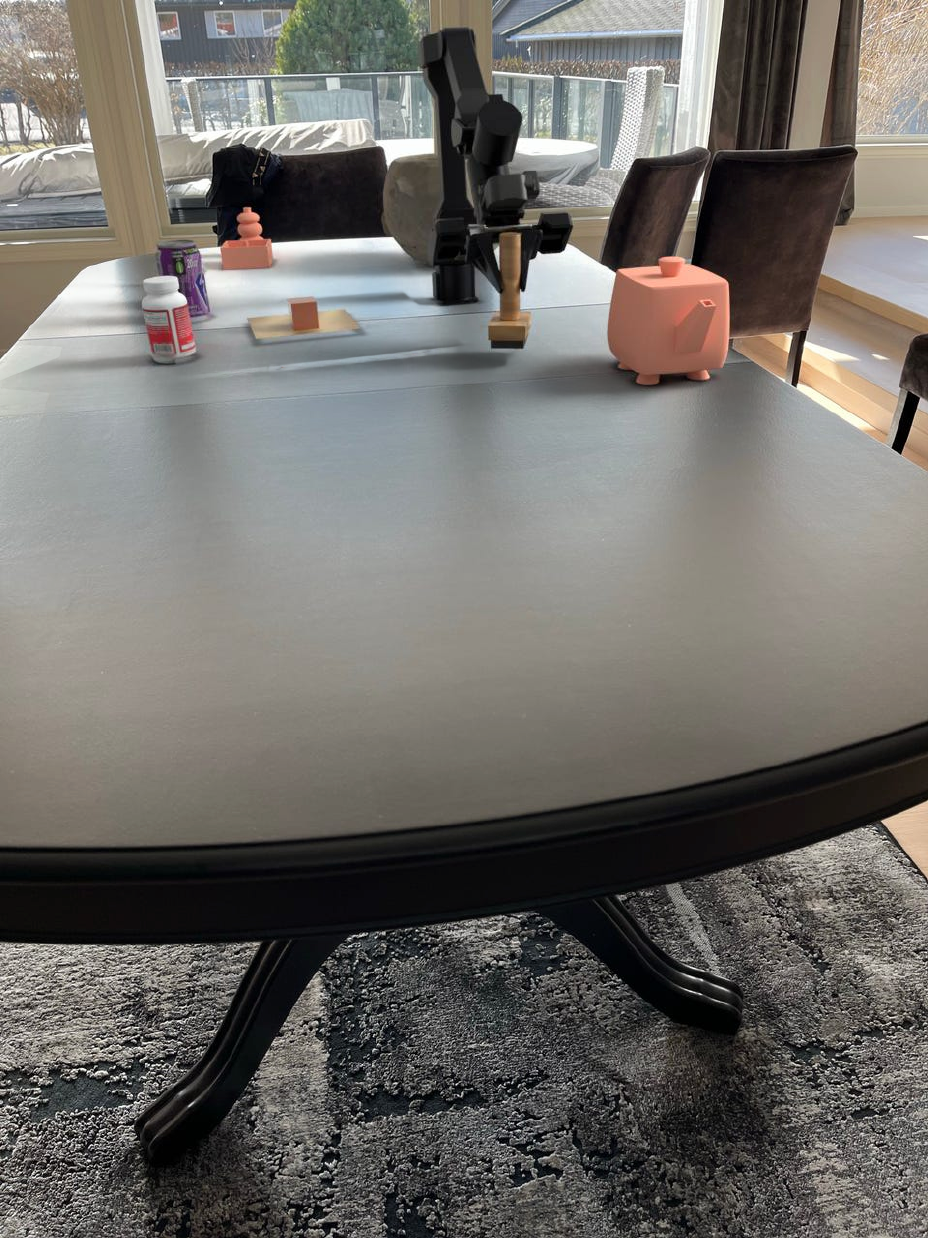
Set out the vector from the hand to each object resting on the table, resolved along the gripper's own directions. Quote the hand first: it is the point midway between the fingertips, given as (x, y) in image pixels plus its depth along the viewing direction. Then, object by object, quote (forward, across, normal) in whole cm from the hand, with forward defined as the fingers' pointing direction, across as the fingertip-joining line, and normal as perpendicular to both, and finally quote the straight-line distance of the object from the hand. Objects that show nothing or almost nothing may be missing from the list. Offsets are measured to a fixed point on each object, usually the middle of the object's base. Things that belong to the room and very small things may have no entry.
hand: (512, 290), depth 126 cm
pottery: (-58, -34, +72) cm, 99 cm away
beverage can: (-22, -45, +36) cm, 62 cm away
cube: (-12, -27, +24) cm, 38 cm away
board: (-13, -27, +26) cm, 40 cm away
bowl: (-45, +6, +59) cm, 74 cm away
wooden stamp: (+4, 0, +6) cm, 7 cm away
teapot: (+15, +18, -2) cm, 23 cm away
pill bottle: (-4, -46, +18) cm, 50 cm away
